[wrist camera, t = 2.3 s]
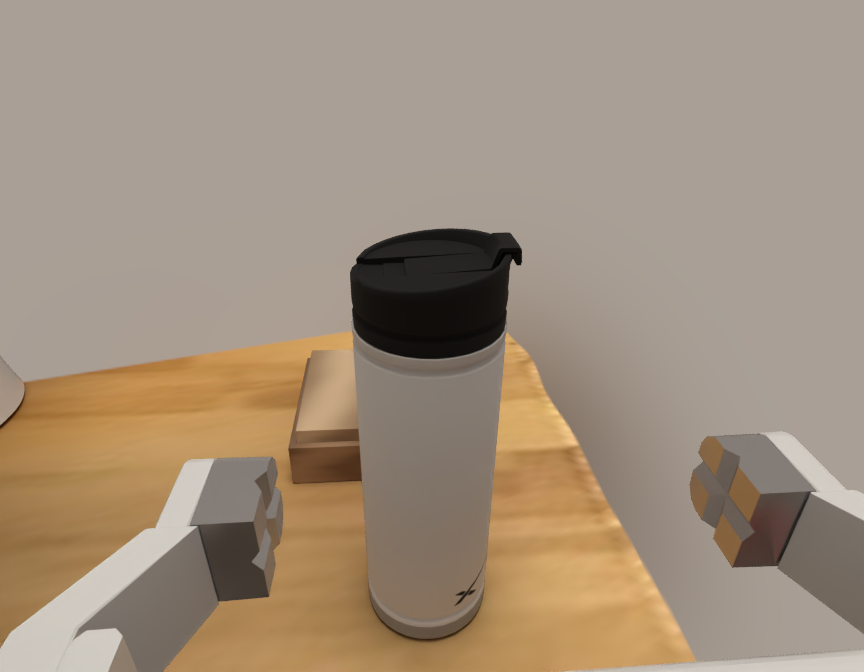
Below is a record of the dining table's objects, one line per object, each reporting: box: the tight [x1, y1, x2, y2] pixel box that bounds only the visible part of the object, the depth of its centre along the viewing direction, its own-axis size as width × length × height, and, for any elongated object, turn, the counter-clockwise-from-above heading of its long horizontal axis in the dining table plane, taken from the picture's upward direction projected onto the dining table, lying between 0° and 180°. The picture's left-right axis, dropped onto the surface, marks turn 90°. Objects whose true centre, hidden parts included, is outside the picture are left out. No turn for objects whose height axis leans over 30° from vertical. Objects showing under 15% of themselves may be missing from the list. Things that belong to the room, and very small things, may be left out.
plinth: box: [289, 350, 362, 483], centre depth 42 cm, size 11×11×4 cm
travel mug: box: [350, 229, 522, 639], centre depth 26 cm, size 6×7×20 cm
